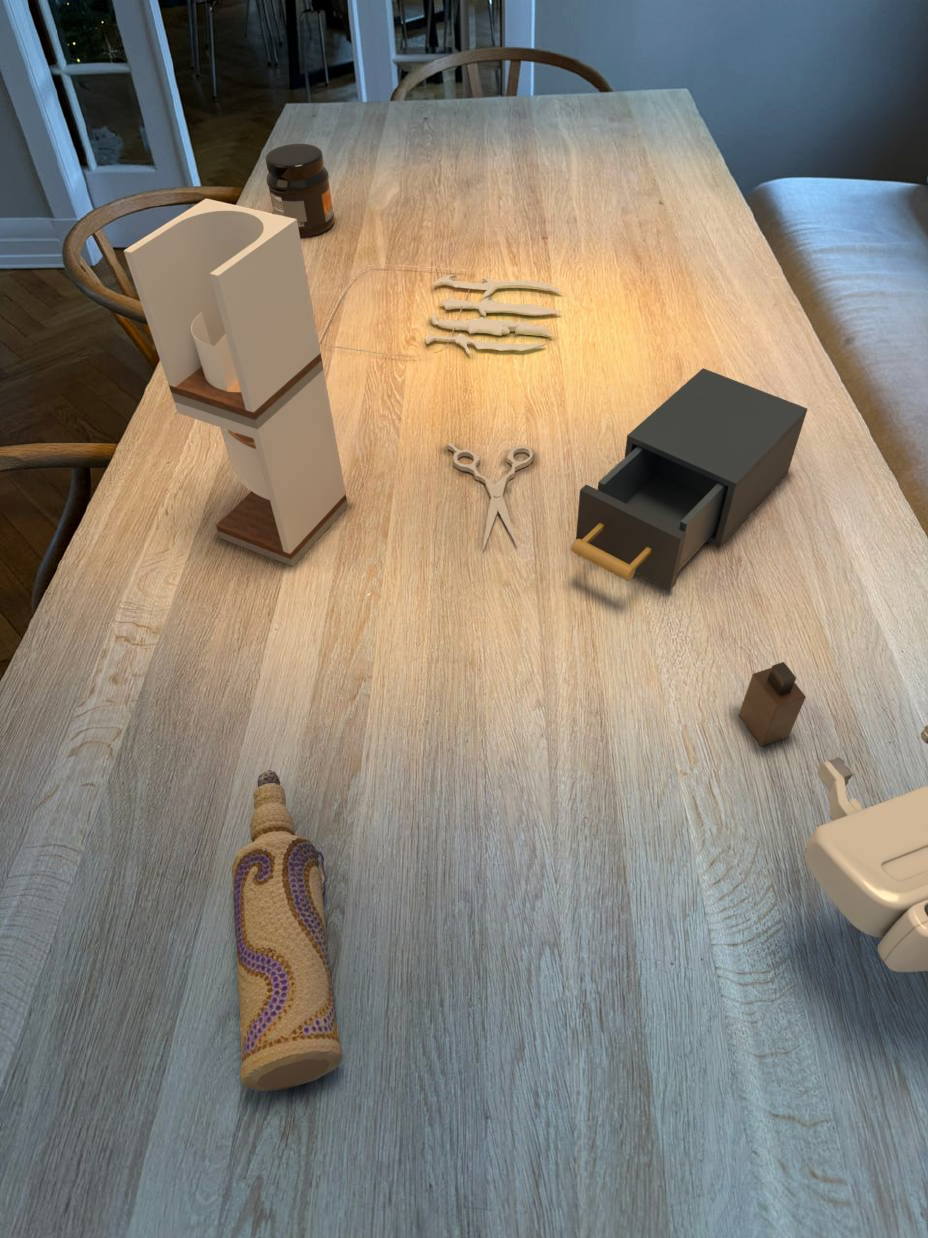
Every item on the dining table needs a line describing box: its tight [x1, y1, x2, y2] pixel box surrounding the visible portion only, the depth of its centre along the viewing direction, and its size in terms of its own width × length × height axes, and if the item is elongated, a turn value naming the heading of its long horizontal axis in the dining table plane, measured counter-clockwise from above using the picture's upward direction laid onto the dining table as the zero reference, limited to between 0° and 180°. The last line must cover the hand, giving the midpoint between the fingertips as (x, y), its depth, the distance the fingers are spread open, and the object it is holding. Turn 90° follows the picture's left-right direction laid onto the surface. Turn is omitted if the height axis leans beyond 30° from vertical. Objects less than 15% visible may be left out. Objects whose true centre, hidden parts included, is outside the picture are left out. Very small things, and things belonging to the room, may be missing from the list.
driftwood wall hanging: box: [318, 264, 565, 357], centre depth 134 cm, size 26×35×1 cm
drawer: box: [571, 446, 728, 592], centre depth 97 cm, size 20×12×8 cm, turn 140°
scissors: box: [447, 441, 534, 551], centre depth 107 cm, size 11×1×20 cm
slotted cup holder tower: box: [123, 198, 349, 567], centre depth 92 cm, size 11×11×35 cm
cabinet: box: [624, 368, 808, 549], centre depth 103 cm, size 17×14×10 cm
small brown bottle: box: [738, 661, 807, 747], centre depth 81 cm, size 4×3×8 cm
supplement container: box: [265, 143, 335, 238], centre depth 152 cm, size 10×10×12 cm
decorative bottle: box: [231, 769, 344, 1092], centre depth 71 cm, size 26×8×7 cm, turn 12°
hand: (879, 745), depth 67 cm, fingers open, 8 cm apart
